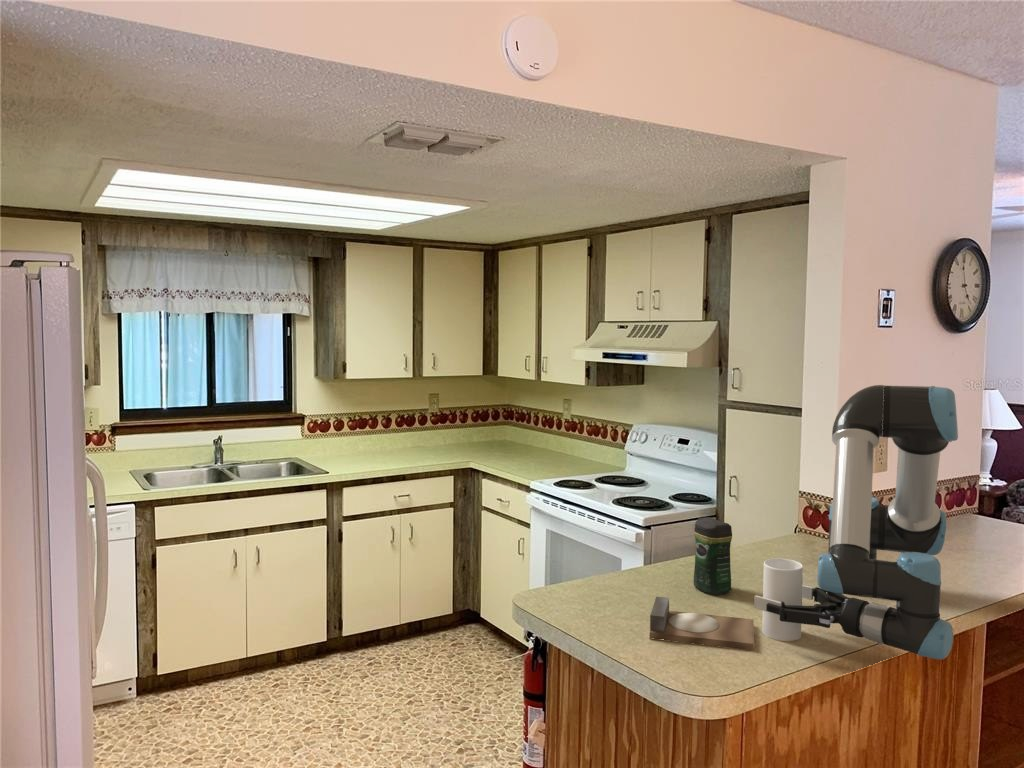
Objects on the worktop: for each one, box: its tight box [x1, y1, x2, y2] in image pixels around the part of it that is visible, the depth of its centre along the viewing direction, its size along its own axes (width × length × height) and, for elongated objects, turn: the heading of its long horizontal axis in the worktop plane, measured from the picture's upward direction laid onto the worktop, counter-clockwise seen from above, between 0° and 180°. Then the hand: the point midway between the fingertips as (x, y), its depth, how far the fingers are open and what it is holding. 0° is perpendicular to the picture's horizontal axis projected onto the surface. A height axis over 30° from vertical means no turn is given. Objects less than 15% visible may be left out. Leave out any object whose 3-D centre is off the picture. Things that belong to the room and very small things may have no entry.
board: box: [649, 596, 755, 651], centre depth 174 cm, size 22×14×5 cm, turn 73°
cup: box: [761, 557, 804, 642], centre depth 172 cm, size 8×8×16 cm
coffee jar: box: [693, 516, 733, 595], centre depth 200 cm, size 10×8×19 cm
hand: (770, 593), depth 174 cm, fingers open, 13 cm apart
